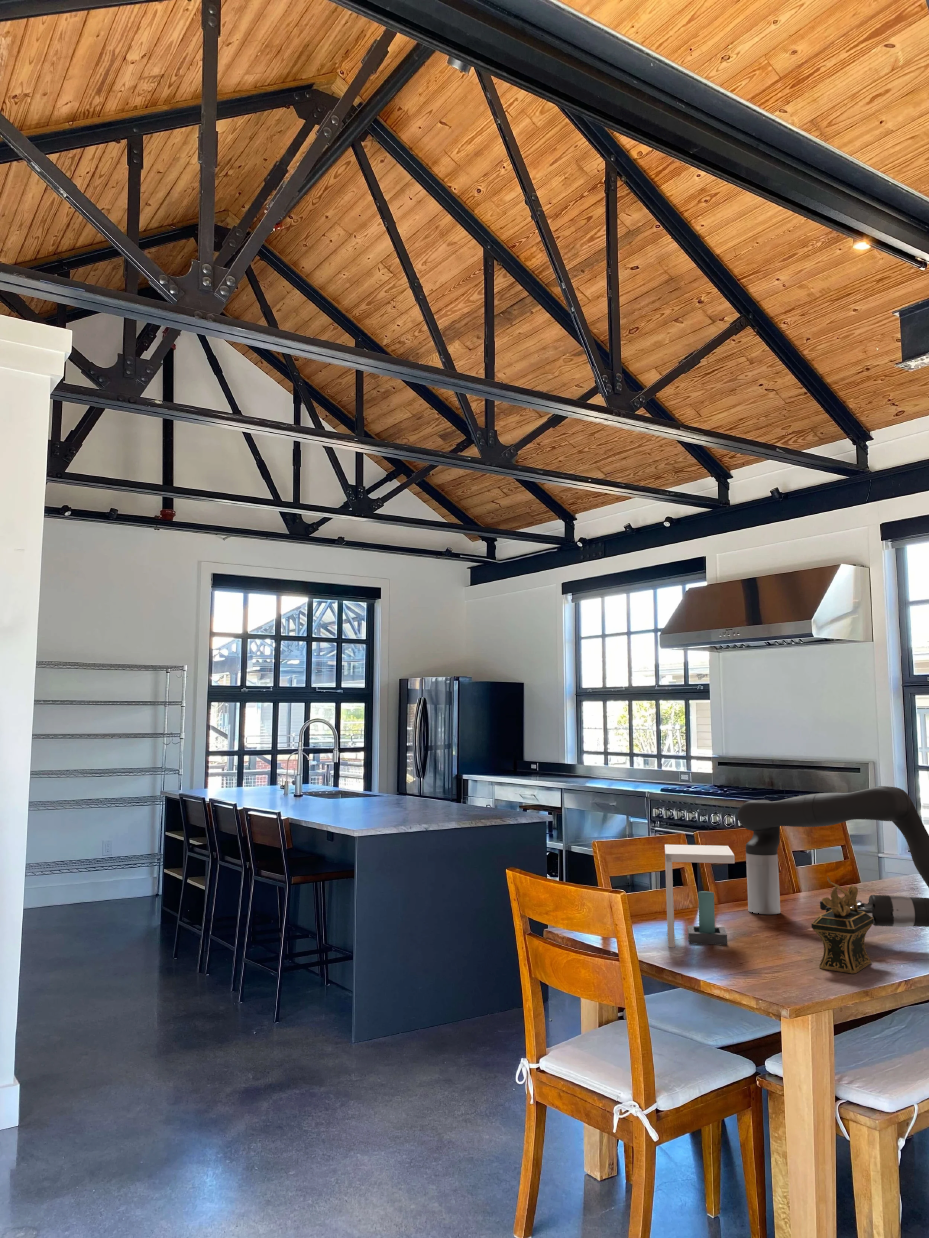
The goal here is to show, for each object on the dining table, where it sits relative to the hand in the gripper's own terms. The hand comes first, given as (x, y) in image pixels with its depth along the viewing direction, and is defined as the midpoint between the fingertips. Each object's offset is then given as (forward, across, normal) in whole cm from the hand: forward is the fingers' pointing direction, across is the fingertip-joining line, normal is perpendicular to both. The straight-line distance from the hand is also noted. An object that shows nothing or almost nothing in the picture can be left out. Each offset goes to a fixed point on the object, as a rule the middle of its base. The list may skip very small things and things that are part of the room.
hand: (823, 908), depth 225 cm
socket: (+29, 0, +9) cm, 30 cm away
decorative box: (0, +22, +9) cm, 24 cm away
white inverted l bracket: (+30, 0, +9) cm, 32 cm away
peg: (+29, 0, +9) cm, 30 cm away
